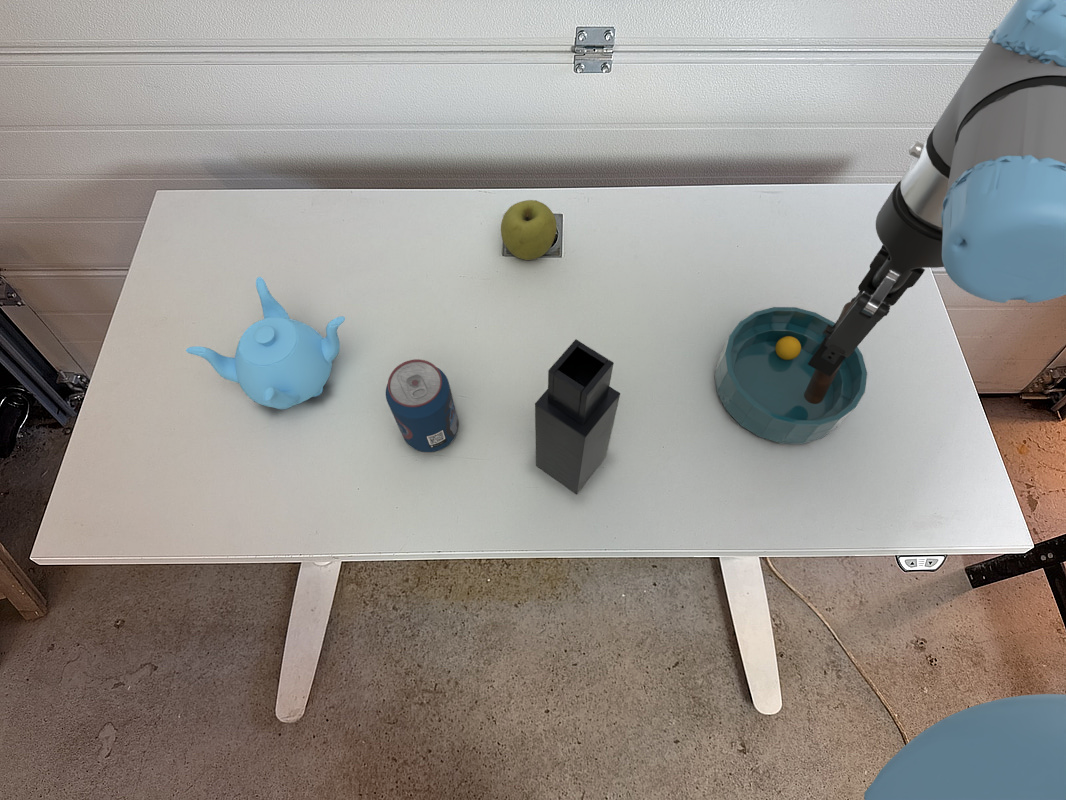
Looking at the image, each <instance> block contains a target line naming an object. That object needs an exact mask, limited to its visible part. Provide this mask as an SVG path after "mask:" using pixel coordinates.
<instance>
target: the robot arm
mask: <svg viewBox="0 0 1066 800" xmlns="http://www.w3.org/2000/svg"><path fill="white" fill-rule="evenodd" d="M908 154H909V155H910V156H912V157H914V158H913V160H912V161H911V162H910V164H909V166H908V167H907V169H906V170H905V172H904V173H903V175H902V178H901V179H900V181H898V182H897V183H896V184H895V186H894V188H893V189H892V191H891V192H890V194H889V195H888V197H887V199H886V200H885V201H884V203H883V204H882V206H881V208H880V209H879V211H878V212H877V215H876V218H875V231H876V234H877V237H878V239H879V241H880V243H881V244H882V245H881V248H880V249H879V250H878V252H877V253H876V255H875V256H874V258H873V259H872V261H871V262H870V264H869V269H868V271H867V272H866V274H865V276H864V277H863V278H862V280H861V281H860V283H859V284H858V287H857V288H858V293H857V294H856V295H855V296H854V297H852V298H851V300H850V301H849V302H852V301H854V302H853V304H852V305H851V307H850V308H849V309H848V311H847V312H846V314H845V315H844V316H843V318H842V319H841V321H840V322H839V323H838V325H837V326H836V327H835V325H836V323H837V321H838V319H837V320H836V321H835V322H834V323H835V324H834V326H831V325H829V324H828V325H827V327H826V328H825V330H824V331H823V334H825V335H826V337H825V338H824V340H823V341H822V343H821V344H820V346H819V348H818V350H817V351H816V352H815V354H814V355H813V357H812V358H811V359H810V361H809V362H808V365H810V366H811V367H813V368H815V369H817V370H819V371H820V372H822V373H824V374H826V375H828V376H829V377H831V375H832V374H833V373H834V372H835V370H836V369H837V368H838V367H839V365H840V364H841V363H842V362H843V360H844V359H845V358H846V357H847V358H848V357H849V356H850V355H852V354H853V352H854V350H855V349H856V347H858V346H859V345H860V344H861V343H862V342H863V341H864V339H866V337H867V336H868V335H869V333H870V332H871V331H872V330H873V329H874V328H875V327H876V325H877V324H878V323H879V322H881V320H882V319H883V318H884V317H887V316H888V314H889V313H890V310H891V307H892V306H895V305H896V304H897V302H898V301H899V299H900V298H901V297H902V296H903V295H904V293H905V292H906V291H907V290H908V289H909V288H913V287H914V286H915V285H916V283H918V281H919V280H920V279H921V277H922V275H923V274H924V272H925V271H926V268H927V269H937V268H939V269H940V268H944V270H945V272H946V274H947V275H948V277H949V278H950V280H951V281H952V282H953V283H954V284H955V285H956V286H957V287H958V288H960V289H961V290H963V291H965V292H966V293H967V294H970V295H971V296H974V297H975V298H979V299H982V300H985V301H989V302H993V303H1000V304H1005V303H1007V302H1009V301H1025V302H1027V303H1028V304H1035V303H1041V302H1046V301H1051V300H1054V299H1057V298H1061V297H1063V296H1066V0H1016V1H1015V3H1014V4H1013V5H1012V7H1011V8H1010V9H1009V11H1008V12H1007V13H1006V15H1005V16H1004V17H1003V19H1002V21H1001V22H1000V23H999V24H998V26H997V27H996V28H995V29H993V30H992V31H991V32H990V33H989V35H988V41H987V43H986V45H985V46H984V48H983V49H982V51H981V53H980V54H979V56H978V57H977V59H976V61H975V62H974V64H973V65H972V67H970V70H969V72H968V73H967V74H966V76H965V78H964V80H963V81H962V83H961V84H960V85H959V87H958V89H957V90H956V92H955V94H954V95H953V97H951V100H950V101H949V103H948V105H947V106H946V108H945V109H944V111H943V112H942V114H941V115H940V117H939V119H938V120H937V122H936V123H935V126H934V127H933V128H932V130H931V131H930V133H929V135H928V136H927V138H926V140H925V141H924V143H921V142H918V141H916V142H914V143H913V144H912V145H911V146H910V148H909V149H908ZM863 795H864V796H863V799H864V800H1066V694H1064V693H1063V694H1061V693H1041V694H1039V693H1038V694H1025V695H1017V696H1009V697H1003V698H999V699H995V700H990V701H986V702H983V703H979V704H975V705H973V706H969V707H967V708H964V709H962V710H960V711H958V712H955V713H952V714H950V715H948V716H947V717H944V718H942V719H940V720H939V721H937V722H936V723H933V724H932V725H930V726H929V727H927V728H926V729H924V730H923V731H921V732H920V733H918V734H917V735H916V736H915V737H914V738H912V739H911V740H910V741H909V742H908V743H906V744H905V745H904V746H903V747H901V748H900V750H899V751H897V753H896V754H895V755H894V756H892V757H891V758H890V759H889V760H888V761H887V762H886V764H885V765H884V766H883V767H882V768H881V769H880V770H879V772H878V773H877V775H876V777H875V778H874V780H873V781H872V782H871V783H870V785H869V786H868V787H867V789H866V790H865V792H863Z"/></svg>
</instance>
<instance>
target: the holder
mask: <svg viewBox="0 0 1066 800" xmlns="http://www.w3.org/2000/svg"><path fill="white" fill-rule="evenodd" d="M613 368H614V362H613V361H612V360H610V359H609V358H607V357H606V356H604V355H602V354H601V353H599V352H597V351H596V350H594V349H592V348H591V347H590V346H588V345H586V344H585V343H583V342H581V341H580V340H579V339H577V338H575V339H574V340H573V341H572V343H571V344H570V345H569V346H568V347H567V348H566V350H565V351H564V352H563V353H562V354H561V355H560V356H559V357H558V358H557V360H556V361H555V362H554V363H553V364H552V365H551V367H550V368H549V369H548V370H547V372H548V373H547V389H545V391H544V392H543V394H542V395H540V397H539V398H538V399H537V401H536V402H535V403H534V427H535V428H534V430H535V431H534V432H535V433H534V434H535V437H534V439H535V466H536V467H537V468H538V469H540V470H541V471H542V472H544V473H545V474H547V475H548V476H550V477H551V478H552V479H554V480H555V481H557V482H558V483H560V484H561V485H563V486H564V488H566V489H568V490H569V491H571V492H573V494H575V495H578V494H579V493H580V492H581V490H582V489H583V487H584V486H585V485H586V484H587V482H588V481H589V480H590V479H591V477H592V476H593V474H594V473H595V472H596V470H597V469H598V468H599V467H600V466H601V464H602V463H603V462H604V460H605V459H606V458H607V453H608V448H609V445H610V439H611V435H612V431H613V427H614V422H615V419H616V414H617V410H618V405H619V402H620V398H621V392H619V391H617V390H616V389H615V388H613V387H612V386H610V385H611V379H612V375H613Z"/></svg>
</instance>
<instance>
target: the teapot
mask: <svg viewBox="0 0 1066 800" xmlns="http://www.w3.org/2000/svg"><path fill="white" fill-rule="evenodd" d="M255 287H256V290H257V294H258V296H259V301H260V305H261V309H262V315H263V319H260V320H258V321H256V322H254V323H253V324H251V325H249V327H247V328H246V330H244V332H243V334H242V335H241V337H240V338H239V341H238V342H237V343H238V344H237V347H236V350H235V355H234V357H232V356H225V355H222V354H221V353H218V352H217V351H216V350H213V349H211V348H208V347H206V346H199V345H196V346H195V345H193V346H189V347H187V348H186V349H185V352H186V353H188V354H190V355H194V356H196V357H200V358H202V359H204V360H206V361H207V362H208V363H209V365H210V366H211V367H212V368H213V370H214V371H215V372H216V373H217V374H218V375H219V376H220V377H221V378H223V379H225V380H227V381H230V382H233V383H236V384H239V387H240V388H241V390H242V391H243V392H244V394H245V395H246V396H247V397H248V398H249V399H250V400H252V402H254V403H256V404H259V405H261V406H264V407H267V408H268V407H269V408H273V409H276V410H287V409H290V408H292V407H294V406H297V405H299V404H301V403H304V402H306V401H308V400H309V399H311V398H315V397H318V396H320V395H321V394H322V393H323V391H324V386H325V385H326V384H327V381H328V380H329V378H330V375H331V372H332V369H333V361H334V360H335V359H336V358H337V356H338V355H339V353H340V348H341V344H340V343H341V342H340V338H339V335H338V329H339V327H340V326H341V325H342V324H343V323H344V322H345V320H346V316H337V317H335V318H333V319H331V320H330V321H329V322H328V324H327V325H326V327H325V332H326V336H324V337H323V336H322V334H320V333H319V332H318V331H317V330H316V329H315V328H313V327H312V326H310V325H309V324H307V323H304V322H303V321H300V320H297V319H292V318H290V316H289V313H288V312H287V310H286V309H285V308H284V306H282V304H281V303H280V302H278V300H277V299H276V298H275V297H274V296H273V295H272V293H271V292H270V290H269V289H268V285H267V283H266V281H265V280H264V278H263V277H262V276H258V277H256V279H255Z"/></svg>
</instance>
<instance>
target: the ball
mask: <svg viewBox="0 0 1066 800" xmlns="http://www.w3.org/2000/svg"><path fill="white" fill-rule="evenodd" d="M775 350H776V353H777V355H778V356H779V357H780V358H782V359H784V360H792V359H794V358H796V357H797V356H798V355H799V353H800V351H801V345H800V342H799V341H798V340H797V339H796V338H794V337H791V336H786V337H783V338H781V339H780V340H779V341H778V342H777V344H776V347H775Z"/></svg>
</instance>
